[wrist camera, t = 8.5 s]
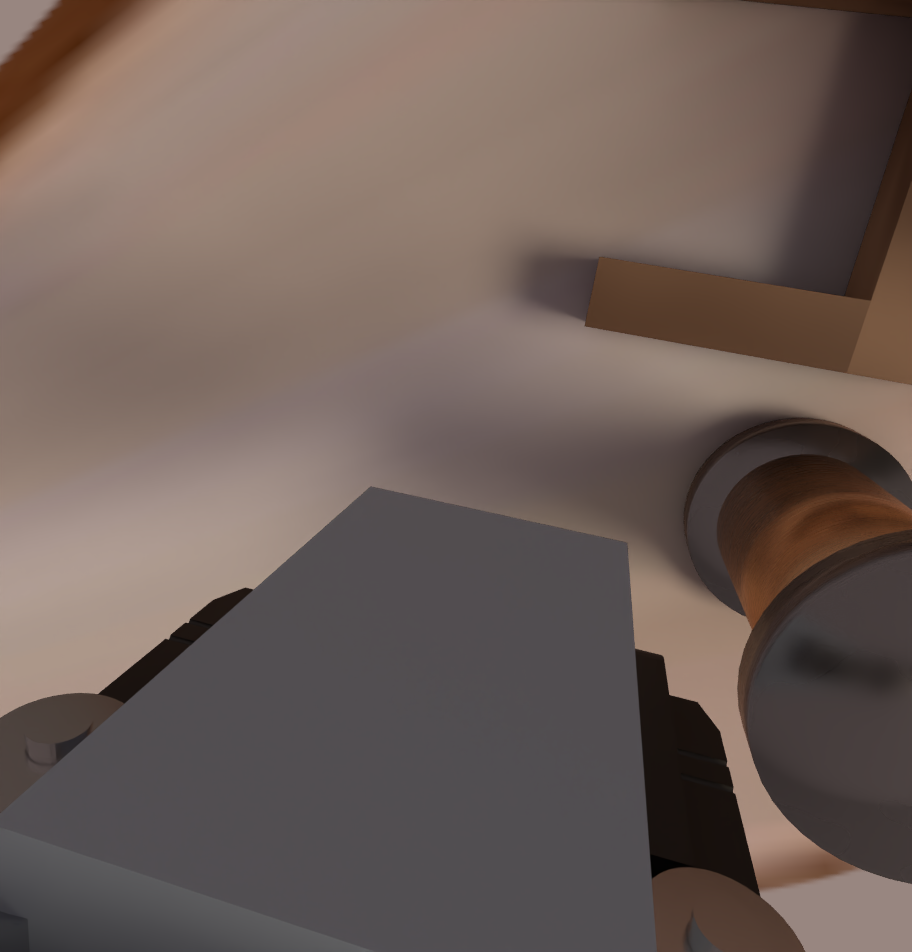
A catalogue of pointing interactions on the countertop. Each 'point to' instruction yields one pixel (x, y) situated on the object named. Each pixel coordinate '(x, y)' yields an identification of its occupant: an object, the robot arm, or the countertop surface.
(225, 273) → the countertop surface
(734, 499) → the bobbin
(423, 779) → the grey rectangular block
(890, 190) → the u-shaped bracket
